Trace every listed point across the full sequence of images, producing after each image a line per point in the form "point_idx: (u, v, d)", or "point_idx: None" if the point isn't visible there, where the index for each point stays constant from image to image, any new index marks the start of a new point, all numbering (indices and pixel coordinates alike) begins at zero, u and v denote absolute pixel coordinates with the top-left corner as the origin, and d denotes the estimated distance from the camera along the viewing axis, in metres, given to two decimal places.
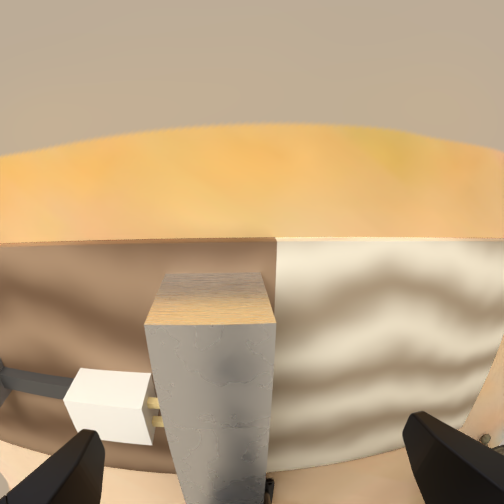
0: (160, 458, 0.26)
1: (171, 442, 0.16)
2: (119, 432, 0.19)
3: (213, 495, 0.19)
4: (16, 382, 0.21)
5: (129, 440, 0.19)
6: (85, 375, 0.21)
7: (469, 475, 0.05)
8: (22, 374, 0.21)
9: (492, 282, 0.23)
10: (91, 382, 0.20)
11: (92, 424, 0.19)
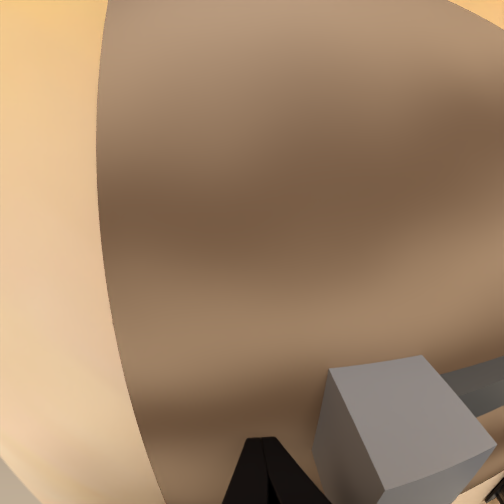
0: None
1: None
2: None
3: None
4: (473, 401, 0.08)
5: None
6: None
7: None
8: (481, 374, 0.08)
9: None
10: None
11: None
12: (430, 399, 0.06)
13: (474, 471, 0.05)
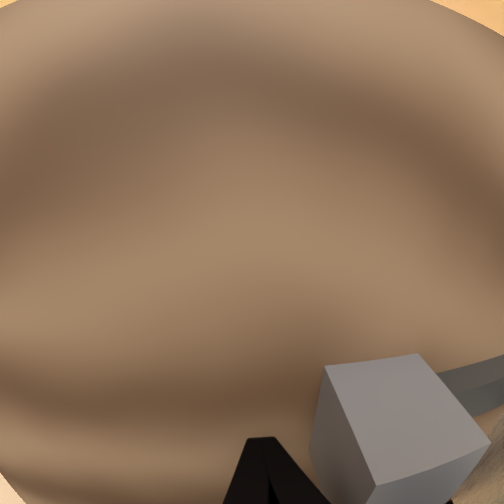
0: None
1: None
2: None
3: None
4: (470, 400, 0.08)
5: None
6: None
7: None
8: (478, 373, 0.08)
9: None
10: None
11: None
12: (424, 397, 0.06)
13: (469, 469, 0.05)
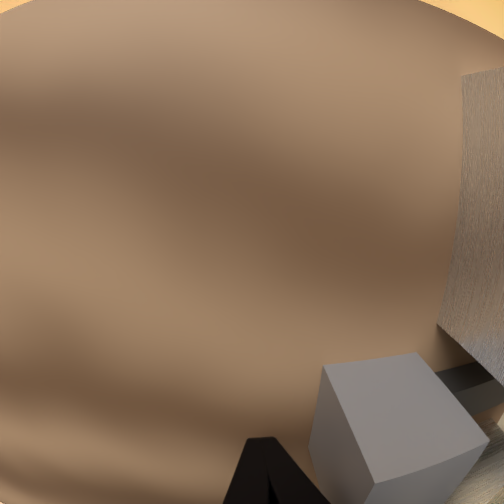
0: None
1: None
2: None
3: None
4: (469, 399, 0.08)
5: None
6: None
7: None
8: (477, 371, 0.08)
9: None
10: None
11: None
12: (423, 395, 0.07)
13: (468, 467, 0.05)
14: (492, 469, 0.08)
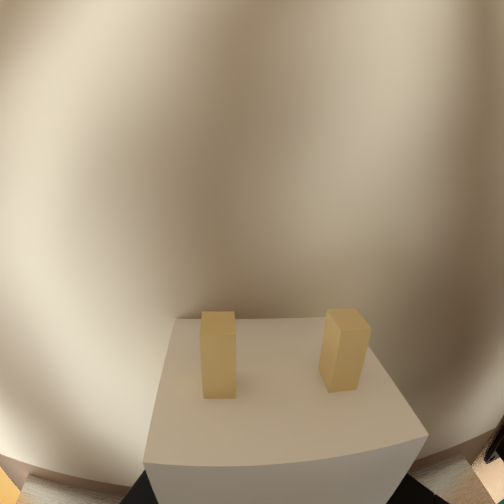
0: None
1: None
2: None
3: None
4: None
5: (374, 496, 0.04)
6: None
7: None
8: None
9: None
10: None
11: None
12: None
13: None
14: None
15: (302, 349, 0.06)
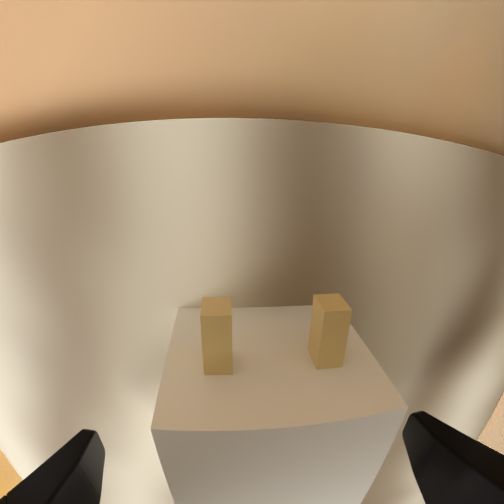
0: None
1: None
2: (317, 491, 0.05)
3: None
4: None
5: (363, 469, 0.05)
6: None
7: (469, 475, 0.05)
8: None
9: None
10: None
11: None
12: None
13: None
14: None
15: (293, 333, 0.07)
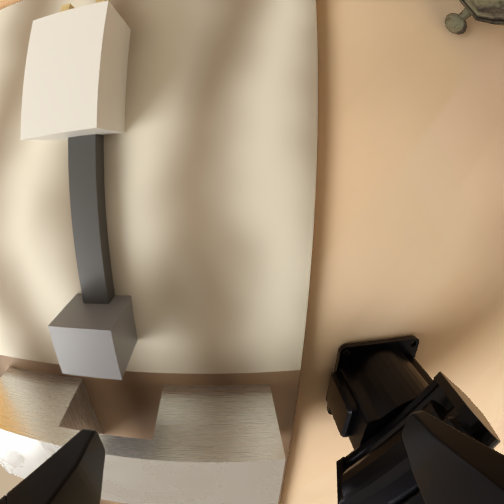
0: None
1: (101, 497, 0.15)
2: (76, 48, 0.10)
3: (200, 495, 0.15)
4: (86, 267, 0.16)
5: (95, 33, 0.10)
6: None
7: (469, 475, 0.05)
8: None
9: None
10: None
11: (60, 92, 0.11)
12: None
13: (63, 330, 0.14)
14: None
15: None
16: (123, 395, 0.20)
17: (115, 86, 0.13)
